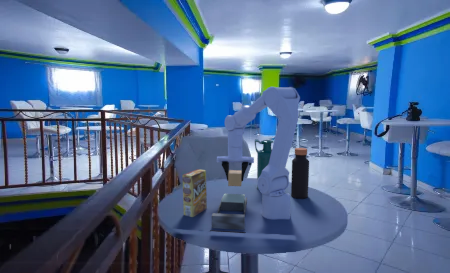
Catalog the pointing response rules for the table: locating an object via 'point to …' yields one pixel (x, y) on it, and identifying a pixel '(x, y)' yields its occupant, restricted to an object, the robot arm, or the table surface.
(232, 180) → the tan cube
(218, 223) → the press bed
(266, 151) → the pitcher
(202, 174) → the candy box
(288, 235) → the table surface
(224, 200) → the grey flat block
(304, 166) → the bottle
